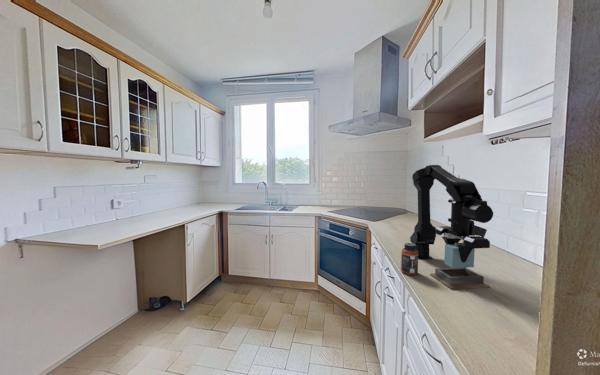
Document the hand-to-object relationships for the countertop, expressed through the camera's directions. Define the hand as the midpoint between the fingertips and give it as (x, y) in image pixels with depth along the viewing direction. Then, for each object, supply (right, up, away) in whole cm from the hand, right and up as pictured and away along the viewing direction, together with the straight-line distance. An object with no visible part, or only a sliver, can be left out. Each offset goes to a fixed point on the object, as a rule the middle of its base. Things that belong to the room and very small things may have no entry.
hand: (458, 259), depth 84 cm
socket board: (0, -8, 0) cm, 8 cm away
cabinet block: (0, -2, 0) cm, 2 cm away
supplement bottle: (-14, -8, +8) cm, 18 cm away
